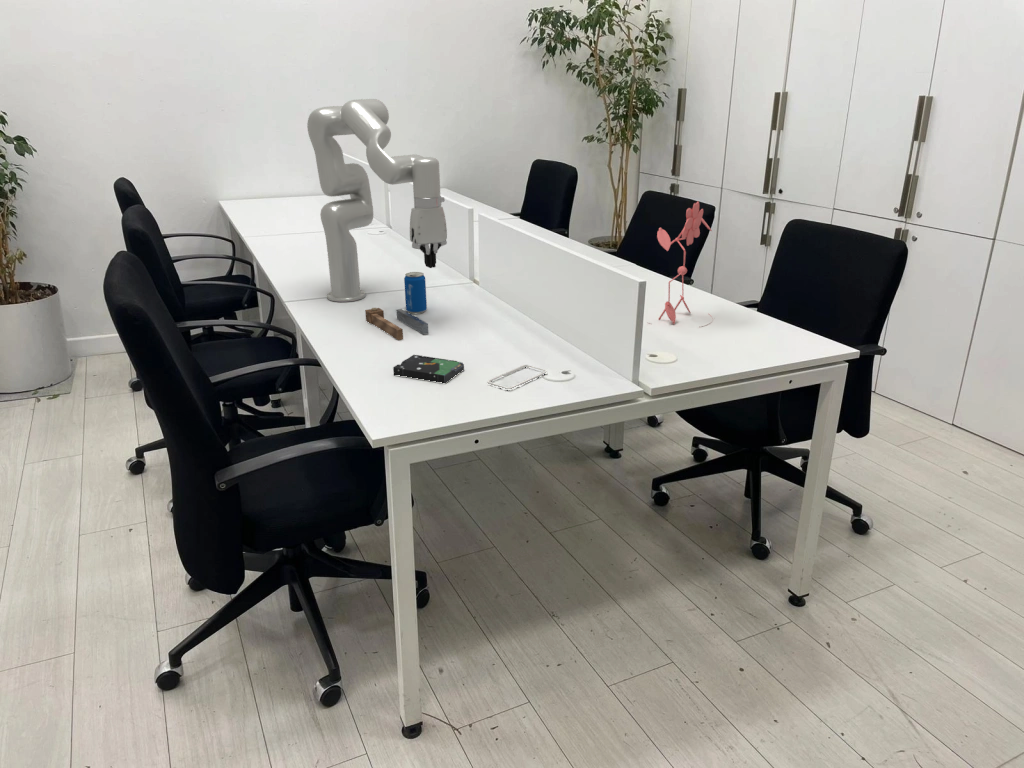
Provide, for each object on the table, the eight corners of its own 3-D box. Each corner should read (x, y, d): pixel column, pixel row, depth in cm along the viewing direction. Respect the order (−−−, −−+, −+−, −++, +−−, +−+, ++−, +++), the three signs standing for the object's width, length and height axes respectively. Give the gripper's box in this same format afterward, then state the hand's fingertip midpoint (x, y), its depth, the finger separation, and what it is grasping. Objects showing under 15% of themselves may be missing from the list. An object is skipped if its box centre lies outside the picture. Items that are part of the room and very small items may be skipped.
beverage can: (402, 312, 241) (399, 275, 237) (413, 307, 246) (411, 270, 242) (419, 315, 238) (417, 277, 234) (430, 310, 244) (429, 272, 239)
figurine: (642, 326, 227) (652, 205, 213) (681, 306, 246) (693, 194, 232) (690, 337, 218) (704, 212, 205) (727, 315, 237) (742, 200, 224)
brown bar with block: (366, 321, 233) (365, 308, 232) (379, 318, 235) (378, 305, 234) (396, 340, 217) (395, 326, 215) (410, 337, 219) (410, 323, 217)
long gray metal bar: (397, 319, 234) (396, 309, 233) (401, 318, 235) (401, 308, 234) (423, 334, 221) (422, 324, 220) (428, 333, 222) (428, 323, 220)
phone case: (509, 393, 182) (548, 375, 193) (509, 388, 182) (548, 370, 192) (486, 386, 186) (525, 368, 197) (485, 381, 186) (525, 363, 196)
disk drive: (393, 378, 192) (446, 385, 187) (392, 367, 191) (445, 374, 186) (413, 364, 201) (465, 371, 196) (413, 354, 200) (464, 360, 195)
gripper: (444, 198, 225) (447, 261, 232) (397, 203, 217) (401, 267, 224) (457, 202, 219) (459, 265, 226) (409, 207, 212) (413, 273, 219)
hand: (430, 266), depth 225 cm, fingers closed
